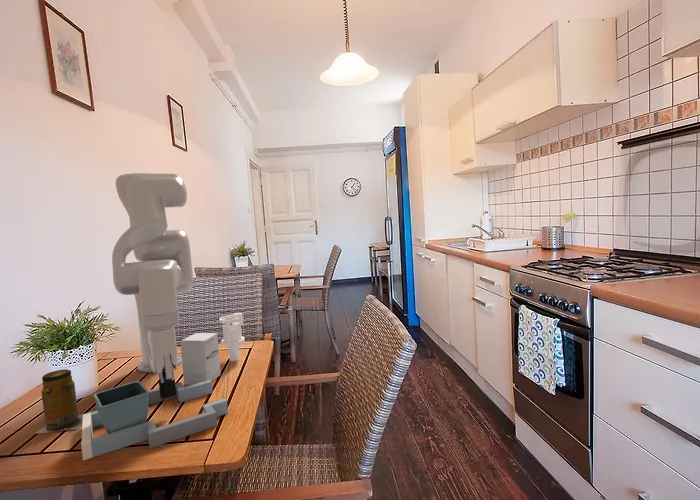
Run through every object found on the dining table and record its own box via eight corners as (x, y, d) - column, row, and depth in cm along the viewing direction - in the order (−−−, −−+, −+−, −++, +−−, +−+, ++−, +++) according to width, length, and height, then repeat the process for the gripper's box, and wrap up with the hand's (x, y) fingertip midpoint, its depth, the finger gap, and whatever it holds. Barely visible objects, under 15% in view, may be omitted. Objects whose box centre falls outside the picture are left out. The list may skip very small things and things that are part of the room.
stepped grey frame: (84, 420, 89) (83, 407, 88) (207, 385, 104) (206, 375, 104) (82, 471, 70) (80, 455, 69) (233, 420, 85) (232, 407, 85)
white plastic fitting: (242, 363, 119) (238, 316, 118) (219, 364, 120) (215, 317, 118) (248, 355, 126) (245, 310, 125) (227, 356, 127) (223, 311, 125)
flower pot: (105, 450, 76) (100, 407, 75) (97, 433, 83) (92, 393, 82) (153, 432, 82) (149, 391, 81) (142, 417, 88) (138, 380, 88)
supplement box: (207, 386, 104) (203, 340, 103) (183, 385, 105) (178, 340, 104) (221, 375, 111) (218, 332, 110) (198, 374, 112) (195, 332, 111)
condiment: (57, 417, 91) (51, 368, 90) (94, 414, 92) (89, 365, 91) (35, 434, 84) (28, 381, 83) (76, 430, 84) (69, 377, 83)
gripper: (138, 315, 91) (146, 388, 93) (146, 331, 78) (154, 415, 81) (172, 309, 95) (179, 379, 97) (185, 323, 83) (192, 404, 85)
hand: (168, 395), depth 89 cm, fingers closed
